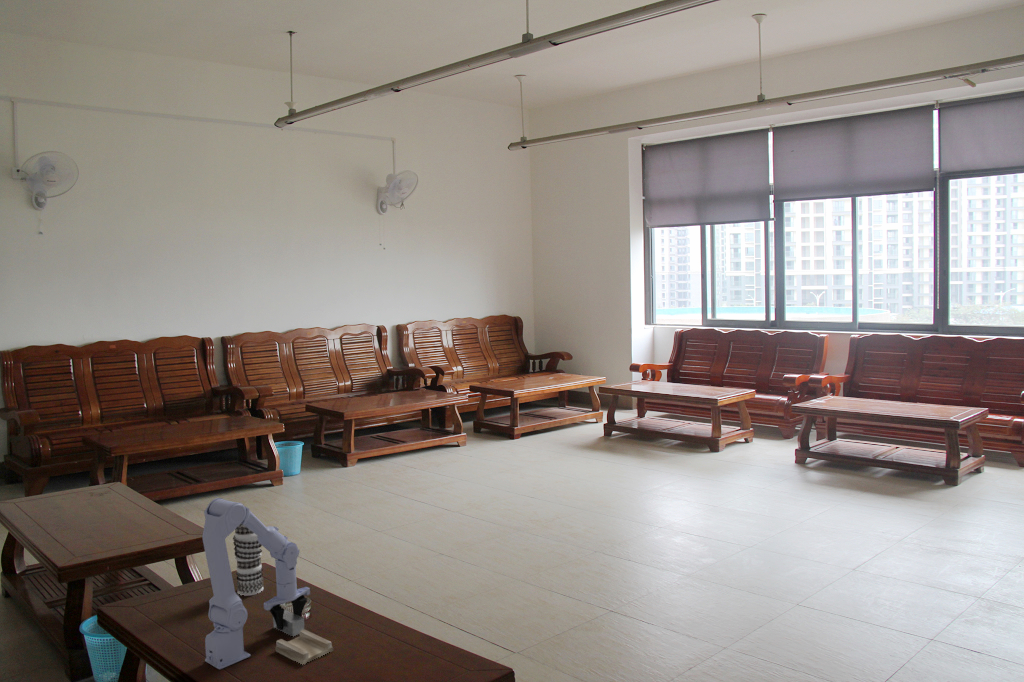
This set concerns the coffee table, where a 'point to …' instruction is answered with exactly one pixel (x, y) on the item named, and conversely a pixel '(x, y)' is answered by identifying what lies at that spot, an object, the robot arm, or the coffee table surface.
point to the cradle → (304, 647)
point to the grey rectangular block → (291, 623)
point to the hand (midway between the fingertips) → (288, 625)
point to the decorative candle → (248, 561)
